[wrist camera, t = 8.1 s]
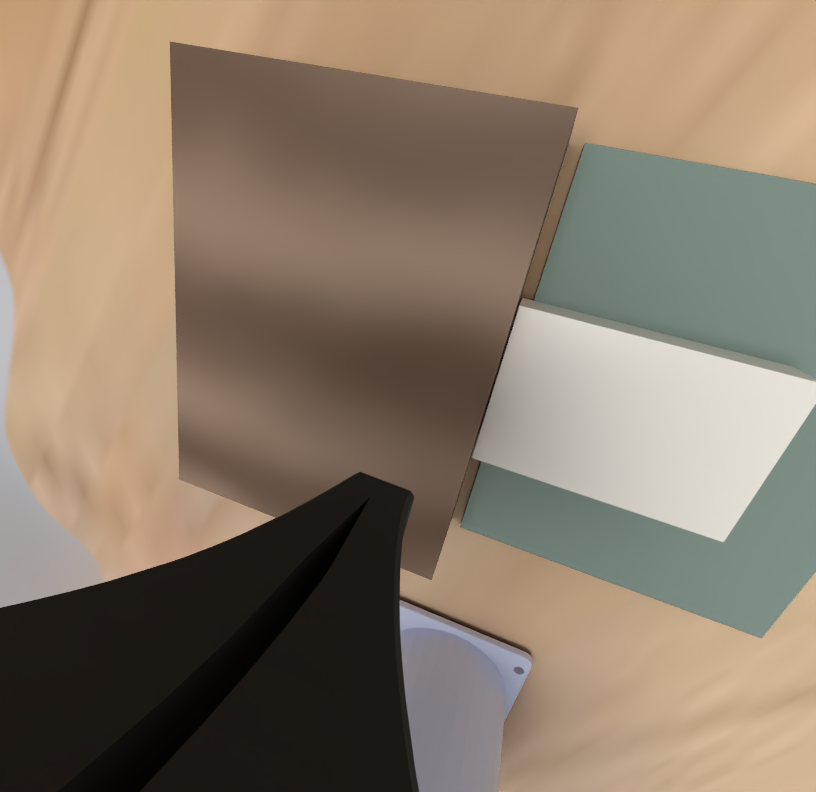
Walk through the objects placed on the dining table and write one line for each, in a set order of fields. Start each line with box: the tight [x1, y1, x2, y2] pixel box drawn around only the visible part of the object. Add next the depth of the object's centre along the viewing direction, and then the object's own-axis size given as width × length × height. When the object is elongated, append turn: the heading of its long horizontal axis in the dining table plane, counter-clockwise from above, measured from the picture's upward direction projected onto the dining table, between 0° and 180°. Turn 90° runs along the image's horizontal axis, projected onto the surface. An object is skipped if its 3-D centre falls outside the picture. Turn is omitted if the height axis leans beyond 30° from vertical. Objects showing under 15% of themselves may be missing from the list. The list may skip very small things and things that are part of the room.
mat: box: [460, 143, 816, 638], centre depth 16 cm, size 16×13×1 cm
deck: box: [170, 42, 578, 580], centre depth 16 cm, size 16×12×4 cm
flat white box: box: [472, 298, 816, 542], centre depth 15 cm, size 6×9×2 cm, turn 78°
